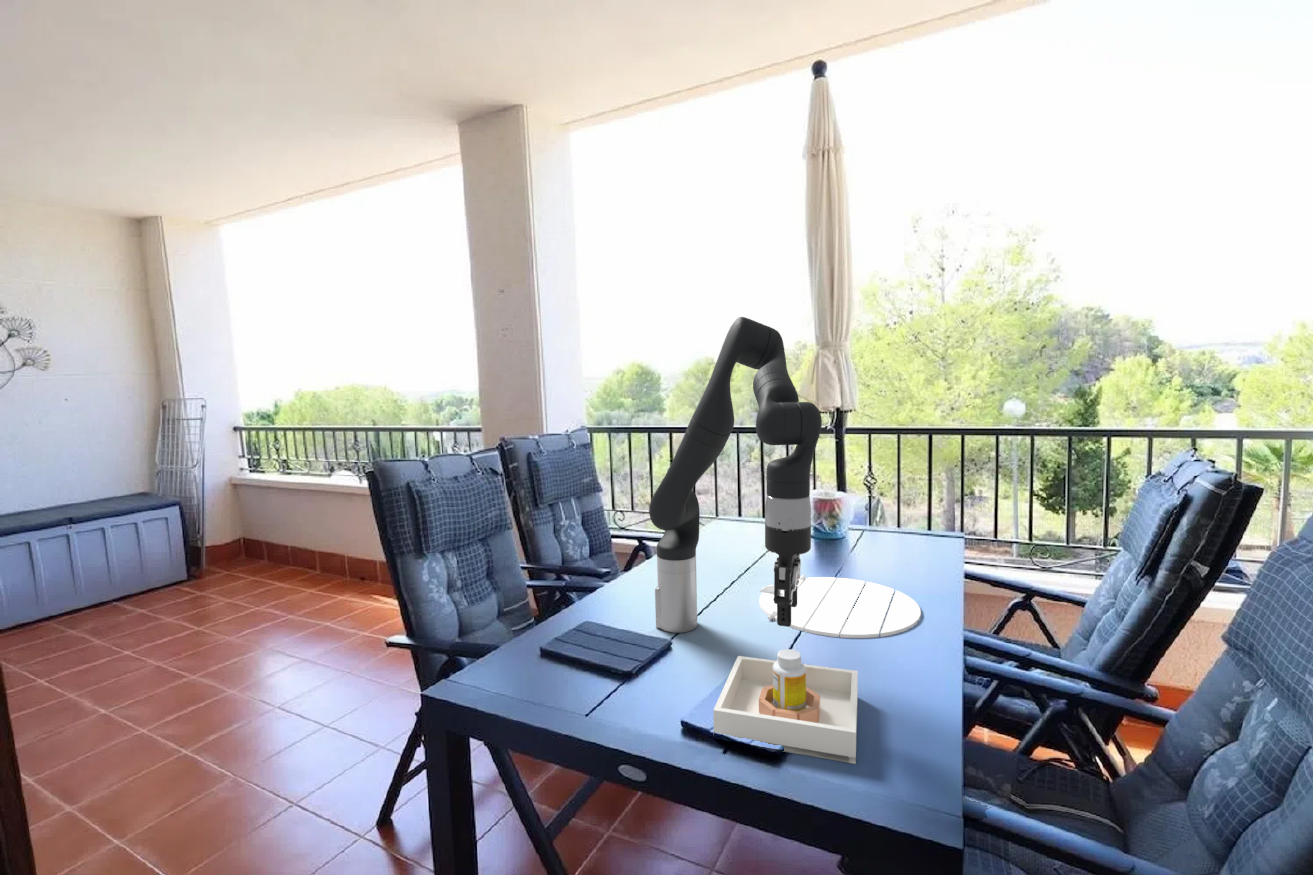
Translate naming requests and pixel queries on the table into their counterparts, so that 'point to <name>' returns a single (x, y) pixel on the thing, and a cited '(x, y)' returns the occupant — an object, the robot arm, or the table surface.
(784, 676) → the supplement bottle
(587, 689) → the table surface
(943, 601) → the table surface
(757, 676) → the walled box
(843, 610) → the white round slatted board
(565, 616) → the table surface
